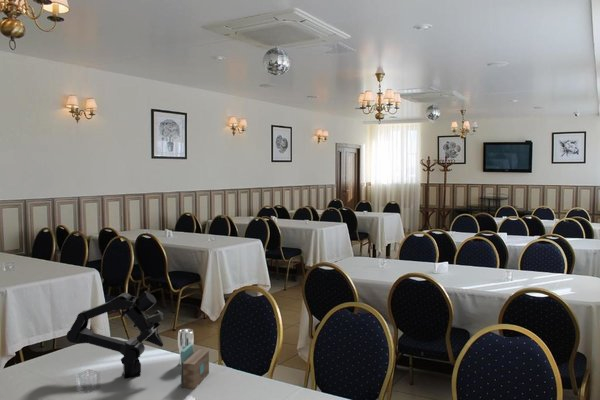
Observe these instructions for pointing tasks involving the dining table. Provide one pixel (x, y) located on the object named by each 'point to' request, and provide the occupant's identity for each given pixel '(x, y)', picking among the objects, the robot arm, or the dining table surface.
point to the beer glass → (184, 339)
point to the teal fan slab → (186, 353)
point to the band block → (194, 368)
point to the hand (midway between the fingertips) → (162, 345)
